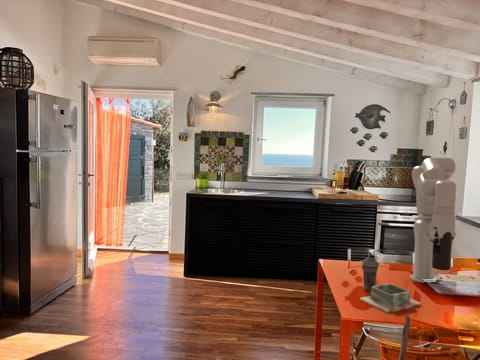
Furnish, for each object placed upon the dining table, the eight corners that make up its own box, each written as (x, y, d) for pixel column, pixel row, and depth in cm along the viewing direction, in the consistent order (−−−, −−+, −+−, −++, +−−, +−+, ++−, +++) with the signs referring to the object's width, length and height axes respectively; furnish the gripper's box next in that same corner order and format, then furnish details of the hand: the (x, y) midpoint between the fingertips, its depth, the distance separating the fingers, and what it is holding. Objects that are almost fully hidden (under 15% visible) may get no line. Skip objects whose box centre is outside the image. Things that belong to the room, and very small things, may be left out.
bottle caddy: (392, 293, 170) (393, 280, 170) (421, 305, 157) (421, 291, 156) (360, 299, 161) (360, 286, 161) (387, 313, 148) (387, 298, 148)
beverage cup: (378, 292, 171) (380, 250, 170) (362, 291, 172) (363, 249, 171) (375, 287, 178) (377, 247, 177) (360, 286, 179) (361, 245, 178)
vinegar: (434, 265, 159) (437, 219, 158) (452, 268, 154) (454, 221, 153) (429, 268, 154) (431, 221, 153) (447, 271, 150) (449, 223, 148)
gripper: (449, 208, 160) (446, 249, 161) (422, 210, 153) (420, 253, 154) (466, 211, 153) (463, 253, 155) (439, 212, 146) (436, 257, 147)
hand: (442, 252), depth 154 cm, fingers closed on vinegar, 5 cm apart
